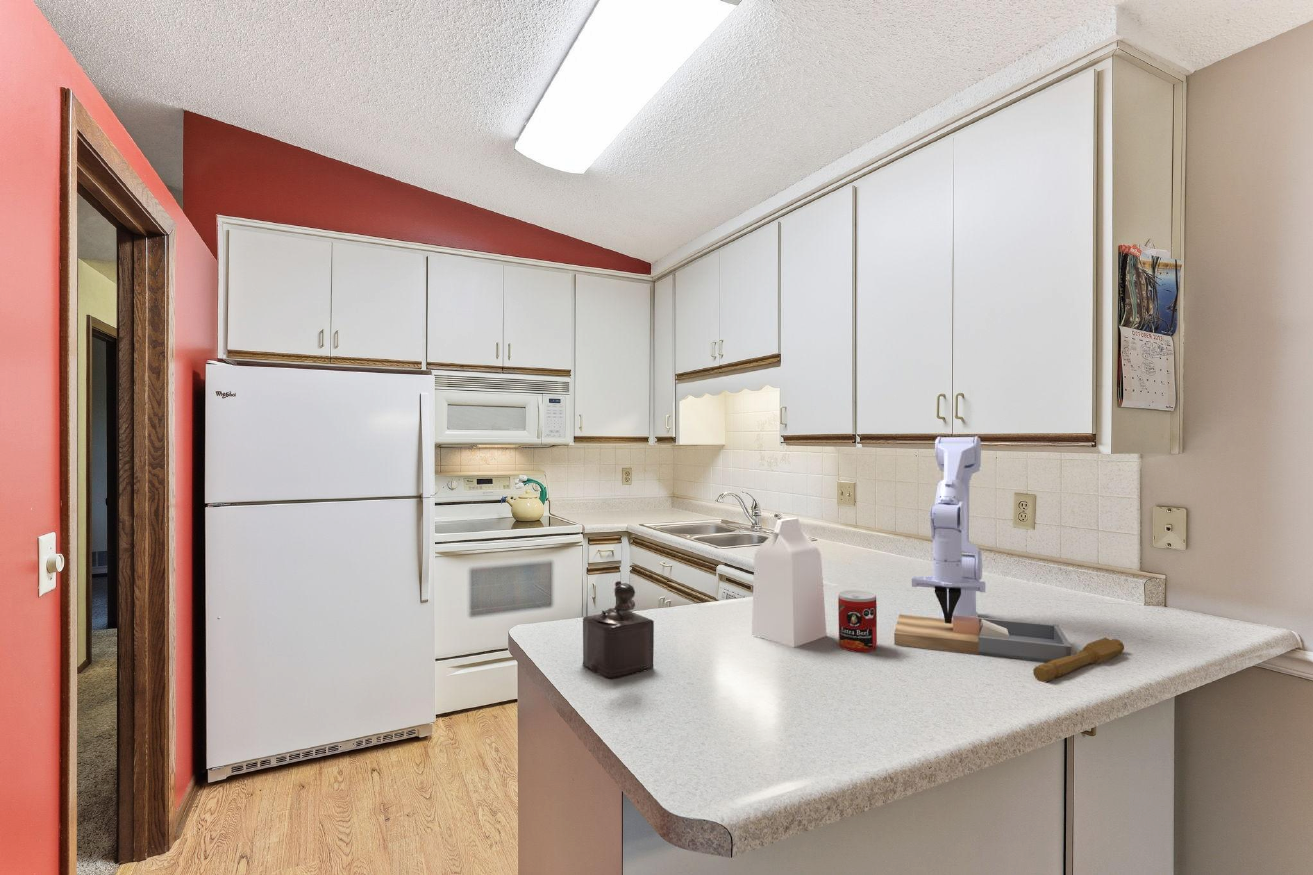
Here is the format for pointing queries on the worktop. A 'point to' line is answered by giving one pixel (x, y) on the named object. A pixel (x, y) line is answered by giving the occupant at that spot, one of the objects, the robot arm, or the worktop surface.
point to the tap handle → (1079, 659)
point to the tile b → (992, 630)
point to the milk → (788, 587)
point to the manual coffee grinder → (618, 638)
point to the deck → (933, 635)
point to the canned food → (857, 620)
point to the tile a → (966, 624)
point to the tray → (1026, 641)
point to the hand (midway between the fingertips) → (948, 622)
